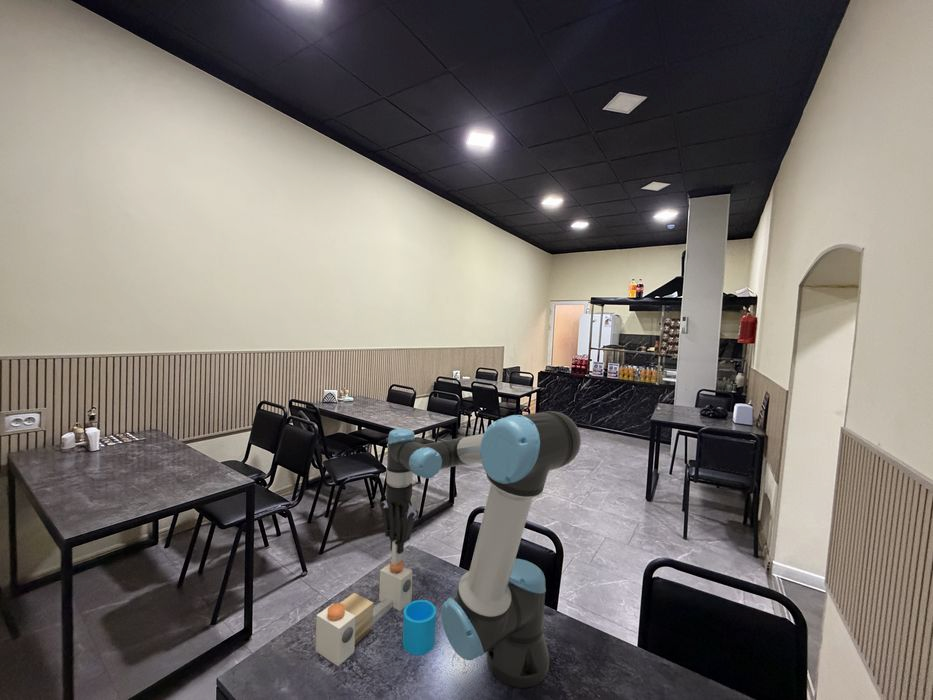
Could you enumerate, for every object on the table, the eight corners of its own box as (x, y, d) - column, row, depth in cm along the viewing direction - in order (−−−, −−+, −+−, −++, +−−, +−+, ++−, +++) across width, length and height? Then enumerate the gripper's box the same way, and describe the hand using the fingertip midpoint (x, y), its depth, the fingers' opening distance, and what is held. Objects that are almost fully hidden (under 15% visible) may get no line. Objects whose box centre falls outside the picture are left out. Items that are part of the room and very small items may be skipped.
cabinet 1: (355, 652, 94) (356, 616, 94) (338, 667, 90) (340, 629, 89) (332, 637, 98) (333, 603, 98) (315, 651, 94) (316, 615, 93)
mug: (429, 658, 93) (430, 625, 93) (397, 651, 95) (398, 619, 94) (442, 622, 105) (443, 593, 105) (413, 617, 106) (414, 588, 106)
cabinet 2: (412, 601, 113) (413, 571, 112) (400, 611, 108) (402, 580, 108) (390, 591, 117) (391, 562, 117) (379, 600, 113) (380, 570, 112)
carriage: (372, 632, 100) (373, 602, 100) (354, 648, 95) (355, 616, 94) (353, 621, 103) (354, 592, 103) (335, 636, 98) (336, 605, 98)
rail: (392, 607, 110) (392, 600, 110) (346, 646, 95) (346, 639, 95) (386, 603, 111) (386, 597, 111) (339, 642, 97) (339, 634, 97)
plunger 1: (347, 627, 94) (348, 607, 94) (334, 638, 91) (335, 617, 91) (336, 621, 96) (337, 600, 96) (323, 631, 93) (324, 610, 93)
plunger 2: (405, 579, 113) (406, 562, 113) (396, 587, 110) (397, 569, 110) (395, 575, 115) (396, 558, 115) (386, 581, 112) (386, 564, 112)
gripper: (425, 484, 112) (422, 563, 112) (391, 474, 118) (388, 549, 119) (408, 492, 105) (405, 576, 106) (373, 481, 112) (370, 561, 113)
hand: (396, 562), depth 113 cm, fingers closed
